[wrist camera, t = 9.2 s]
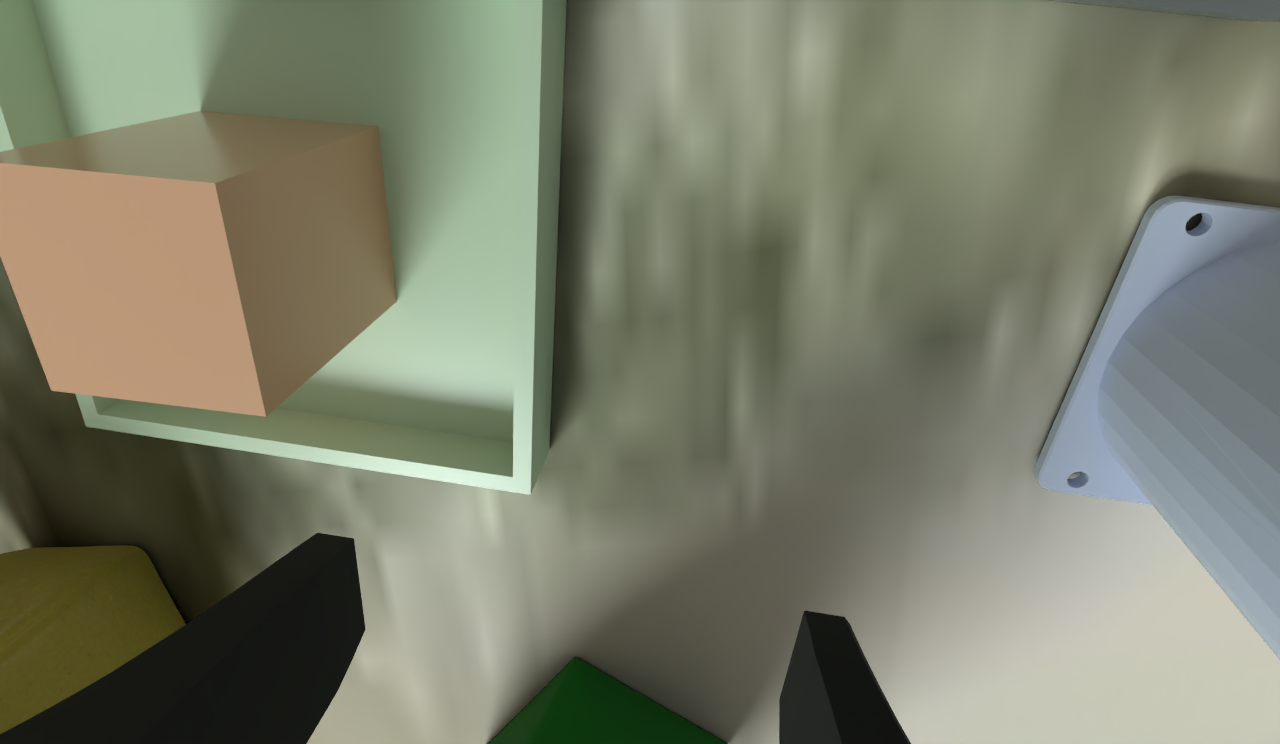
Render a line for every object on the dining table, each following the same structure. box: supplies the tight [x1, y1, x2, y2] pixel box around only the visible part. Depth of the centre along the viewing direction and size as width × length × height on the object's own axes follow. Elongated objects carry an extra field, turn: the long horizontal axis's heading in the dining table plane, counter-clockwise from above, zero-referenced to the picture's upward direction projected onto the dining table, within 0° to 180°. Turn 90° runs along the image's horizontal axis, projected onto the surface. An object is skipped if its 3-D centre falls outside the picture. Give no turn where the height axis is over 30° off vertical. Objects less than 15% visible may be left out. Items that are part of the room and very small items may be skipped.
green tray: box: [0, 0, 567, 495], centre depth 18 cm, size 13×13×2 cm
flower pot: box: [0, 545, 186, 734], centre depth 23 cm, size 9×9×9 cm
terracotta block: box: [0, 111, 397, 417], centre depth 16 cm, size 4×4×6 cm
